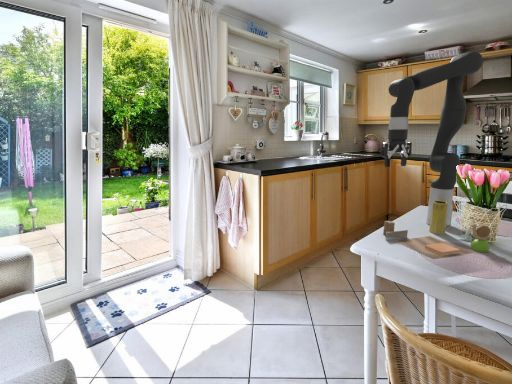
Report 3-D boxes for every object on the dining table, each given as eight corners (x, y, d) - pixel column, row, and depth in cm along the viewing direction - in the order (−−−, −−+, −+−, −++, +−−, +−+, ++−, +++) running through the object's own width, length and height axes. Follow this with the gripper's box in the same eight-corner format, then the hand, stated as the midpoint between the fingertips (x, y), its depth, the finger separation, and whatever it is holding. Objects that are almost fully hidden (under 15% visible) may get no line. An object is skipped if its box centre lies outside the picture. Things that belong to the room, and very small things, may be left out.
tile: (442, 242, 115) (459, 249, 109) (441, 245, 116) (459, 252, 109) (425, 245, 113) (442, 252, 106) (424, 248, 113) (441, 255, 107)
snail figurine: (463, 250, 115) (468, 218, 113) (481, 250, 115) (486, 219, 113) (473, 256, 110) (478, 223, 108) (492, 256, 110) (497, 223, 107)
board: (429, 239, 127) (429, 236, 126) (472, 256, 110) (473, 252, 110) (393, 244, 121) (393, 240, 120) (432, 263, 104) (433, 258, 104)
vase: (447, 238, 128) (451, 204, 125) (430, 237, 129) (435, 203, 126) (441, 233, 134) (446, 200, 131) (426, 232, 135) (430, 200, 132)
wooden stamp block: (375, 238, 127) (376, 222, 126) (395, 236, 130) (396, 219, 129) (385, 243, 121) (387, 226, 120) (406, 241, 125) (408, 224, 123)
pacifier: (454, 244, 123) (473, 246, 120) (455, 228, 122) (474, 230, 119) (453, 238, 129) (471, 240, 126) (455, 223, 128) (473, 225, 125)
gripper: (404, 128, 140) (401, 164, 143) (378, 128, 135) (375, 166, 138) (418, 128, 133) (414, 166, 136) (391, 128, 128) (388, 168, 131)
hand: (395, 166), depth 137 cm, fingers open, 8 cm apart
